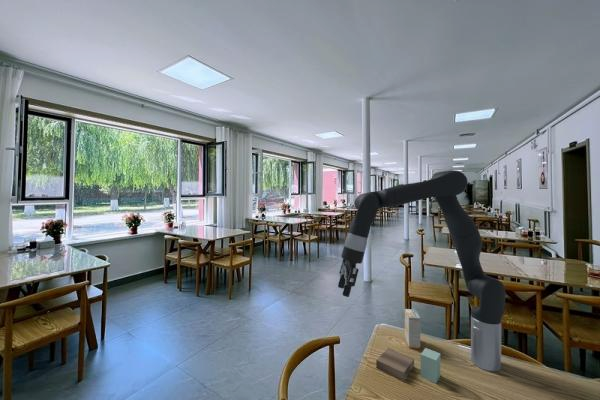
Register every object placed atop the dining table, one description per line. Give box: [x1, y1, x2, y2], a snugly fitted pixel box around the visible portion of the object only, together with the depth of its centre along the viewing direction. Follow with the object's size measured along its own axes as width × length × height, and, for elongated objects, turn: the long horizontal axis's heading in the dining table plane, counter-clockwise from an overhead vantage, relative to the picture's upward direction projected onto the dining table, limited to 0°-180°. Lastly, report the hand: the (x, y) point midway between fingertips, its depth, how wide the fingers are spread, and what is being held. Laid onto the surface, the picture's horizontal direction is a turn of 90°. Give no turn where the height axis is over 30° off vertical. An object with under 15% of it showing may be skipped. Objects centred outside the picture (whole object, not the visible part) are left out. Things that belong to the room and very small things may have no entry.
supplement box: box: [404, 308, 421, 350], centre depth 110 cm, size 8×5×13 cm, turn 168°
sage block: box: [420, 347, 442, 384], centre depth 90 cm, size 5×5×8 cm
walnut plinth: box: [375, 347, 415, 382], centre depth 95 cm, size 10×10×3 cm
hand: (342, 291), depth 91 cm, fingers open, 8 cm apart
